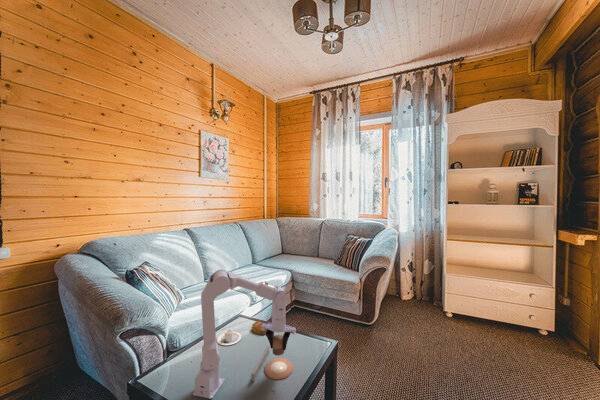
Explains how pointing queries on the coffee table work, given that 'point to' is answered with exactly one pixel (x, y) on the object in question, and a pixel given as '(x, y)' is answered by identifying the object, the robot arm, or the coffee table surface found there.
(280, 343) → the walnut cylinder
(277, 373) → the resting plate
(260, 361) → the acrylic wall
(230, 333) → the candle holder
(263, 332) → the pastry
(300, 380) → the coffee table surface
